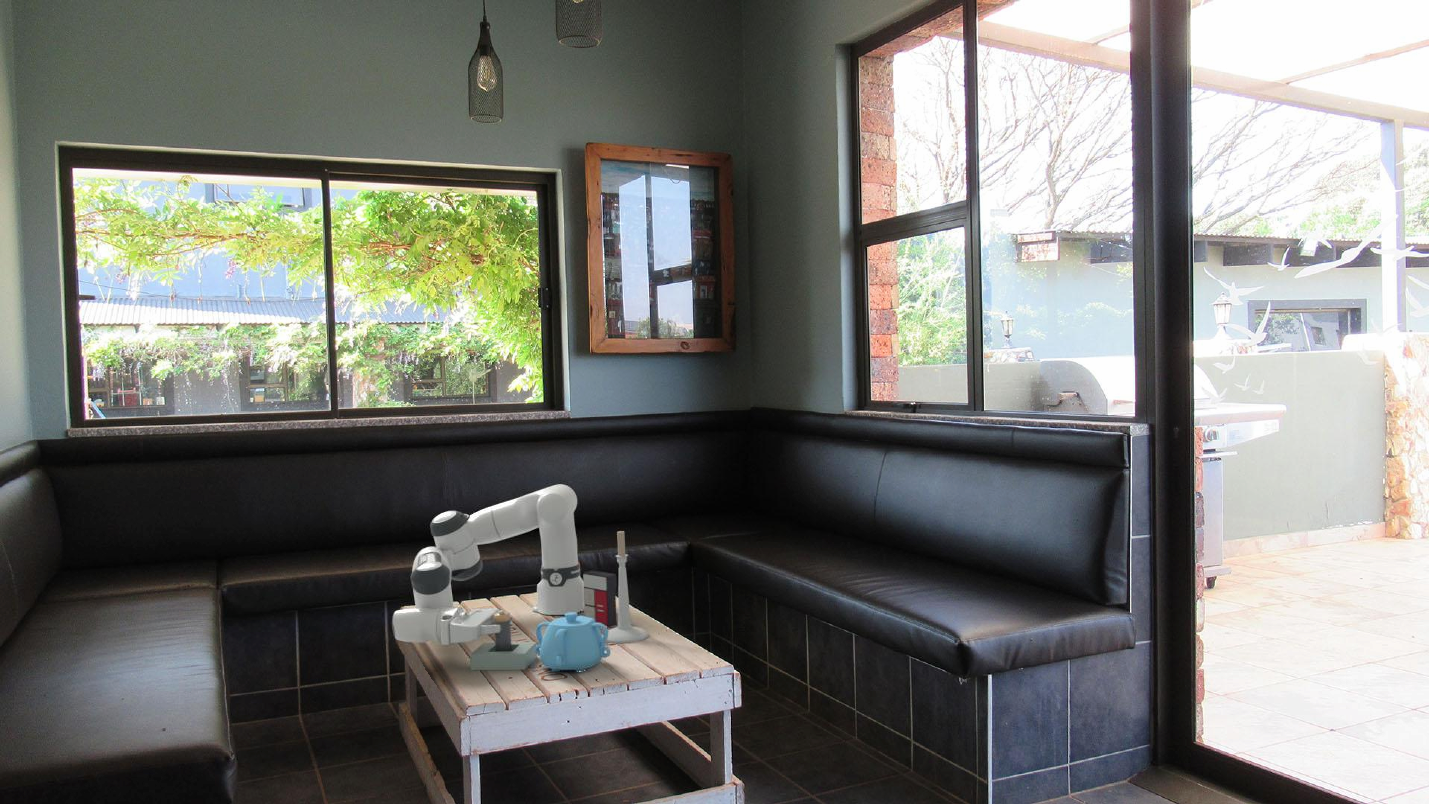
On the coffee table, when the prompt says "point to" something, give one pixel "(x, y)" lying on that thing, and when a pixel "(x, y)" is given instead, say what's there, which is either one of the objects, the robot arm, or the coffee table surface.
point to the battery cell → (503, 632)
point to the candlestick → (624, 604)
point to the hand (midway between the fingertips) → (506, 623)
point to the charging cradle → (503, 657)
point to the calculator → (600, 597)
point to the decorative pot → (572, 643)
